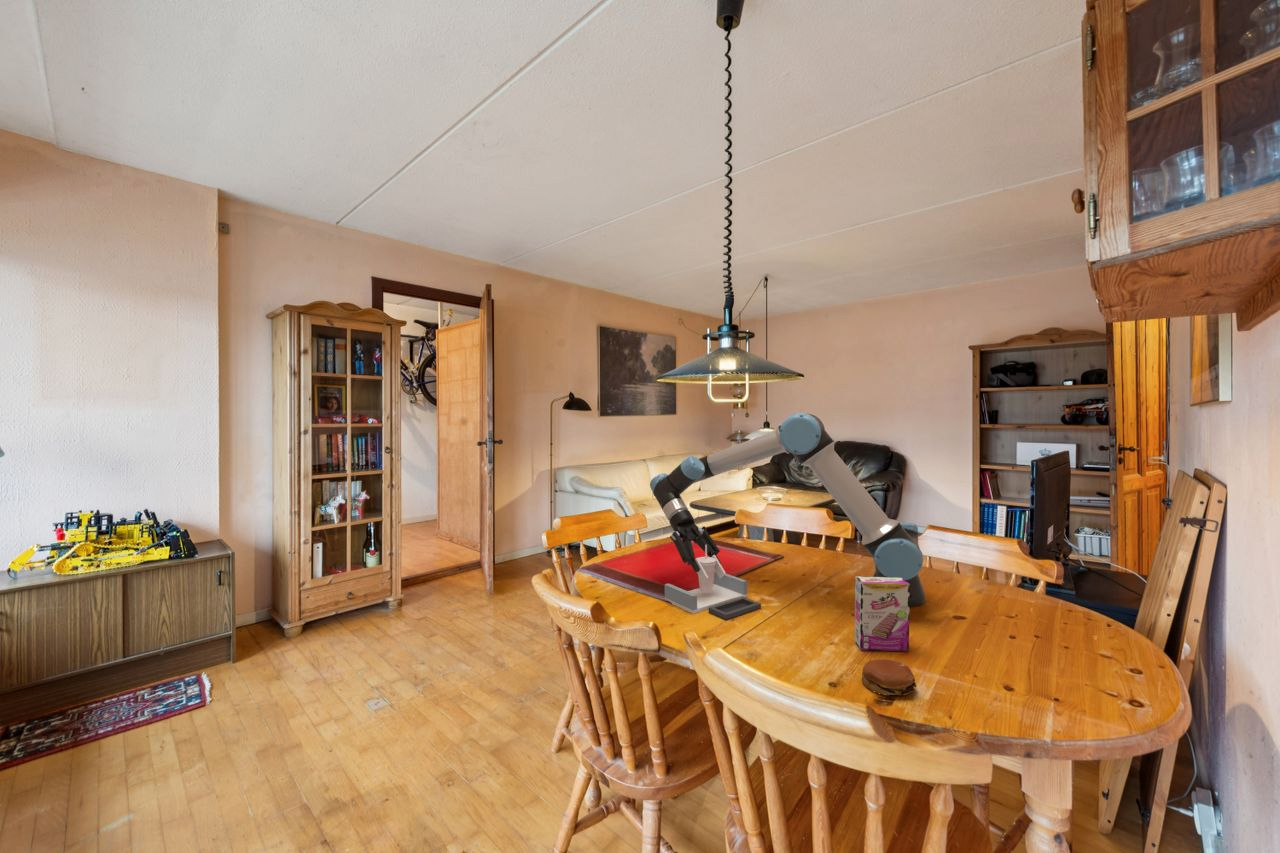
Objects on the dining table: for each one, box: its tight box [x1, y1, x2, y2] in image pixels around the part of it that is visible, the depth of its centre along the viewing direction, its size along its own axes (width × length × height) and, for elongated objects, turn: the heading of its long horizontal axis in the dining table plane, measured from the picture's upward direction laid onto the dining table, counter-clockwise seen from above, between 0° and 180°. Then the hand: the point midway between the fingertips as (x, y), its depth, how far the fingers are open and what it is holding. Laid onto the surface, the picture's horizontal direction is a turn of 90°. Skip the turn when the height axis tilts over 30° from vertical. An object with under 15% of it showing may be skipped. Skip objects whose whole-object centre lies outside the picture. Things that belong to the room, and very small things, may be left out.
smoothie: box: [695, 545, 716, 593], centre depth 155 cm, size 6×6×14 cm
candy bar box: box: [854, 575, 910, 653], centre depth 121 cm, size 11×5×16 cm, turn 84°
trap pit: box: [708, 597, 762, 621], centre depth 145 cm, size 7×14×2 cm, turn 125°
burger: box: [861, 658, 917, 696], centre depth 103 cm, size 10×9×5 cm
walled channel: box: [664, 571, 748, 615], centre depth 155 cm, size 13×22×5 cm, turn 125°
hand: (714, 577), depth 152 cm, fingers closed on smoothie, 6 cm apart
